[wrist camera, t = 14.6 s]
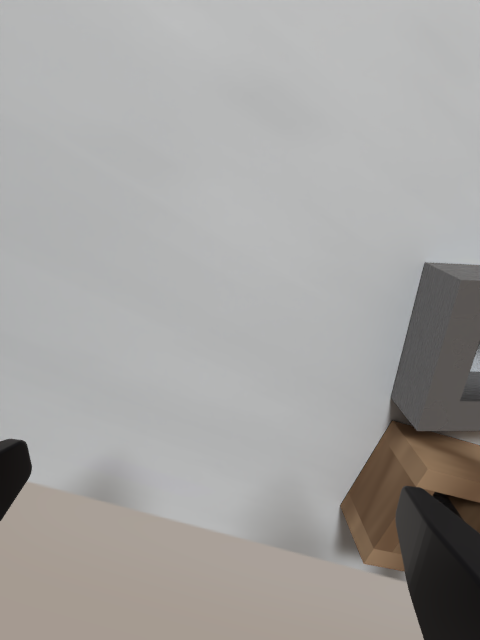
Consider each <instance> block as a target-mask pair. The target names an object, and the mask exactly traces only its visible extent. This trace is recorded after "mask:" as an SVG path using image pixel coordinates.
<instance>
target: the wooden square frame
mask: <svg viewBox="0 0 480 640" xmlns="http://www.w3.org/2000/svg"><path fill="white" fill-rule="evenodd" d="M404 486H412V487H420V488H422V489H424V490H425V491H427V492H428V493H429V494H430V495H433V494H434V492H439V493H443V494H446V495H447V496H448V498H449V499H450V501H451V502H452V504H453V505H454V507H455V508H456V509H457V511H458V512H459V514H460V515H461V517H462V518H463V520H464V521H465V522H466V523H467V524H469V525H470V526H471V527H472V528H474V529H475V530H476V531H477V532H479V533H480V445H476V444H473V443H469V442H466V441H462V440H459V439H455V438H452V437H448V436H445V435H441V434H438V433H435V432H431V431H417V430H416V429H415V428H414V427H413V426H410V425H407V424H403V423H400V422H396V421H393V420H392V422H391V423H390V425H389V427H388V428H387V430H386V431H385V433H384V435H383V436H382V438H381V440H380V441H379V443H378V445H377V446H376V448H375V449H374V451H373V453H372V454H371V456H370V458H369V459H368V461H367V463H366V464H365V466H364V468H363V469H362V471H361V472H360V474H359V476H358V477H357V479H356V481H355V482H354V484H353V486H352V487H351V489H350V490H349V492H348V494H347V495H346V497H345V499H344V500H343V502H342V504H341V505H340V507H341V509H342V512H343V514H344V516H345V519H346V521H347V524H348V526H349V529H350V531H351V534H352V536H353V539H354V541H355V544H356V546H357V548H358V551H359V553H360V556H361V558H362V561H363V563H364V564H368V565H373V566H379V567H384V568H389V569H395V570H400V571H405V569H404V564H403V559H402V554H401V549H400V544H399V539H398V533H397V528H396V519H395V517H396V510H397V506H398V502H399V497H400V493H401V490H402V488H403V487H404Z"/></svg>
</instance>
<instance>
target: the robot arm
mask: <svg viewBox="0 0 480 640" xmlns="http://www.w3.org/2000/svg"><path fill="white" fill-rule="evenodd" d="M31 470H32V465H31V460H30V456H29V451H28V447H27V444H26V442H25V441H23V440H16V439H7V440H4V441H0V521H1V520H2V518H3V517H4V515H5V514H6V512H7V511H8V509H9V507H10V506H11V504H12V503H13V501H14V500H15V498H16V497H17V495H18V493H19V492H20V491H21V489H22V488H23V486H24V485H25V483H26V482H27V480H28V478H29V477H30V474H31ZM395 519H396V528H397V533H398V539H399V544H400V549H401V554H402V559H403V564H404V569H405V574H406V579H407V584H408V588H409V592H410V596H411V599H412V603H413V606H414V609H415V612H416V615H417V618H418V622H419V625H420V628H421V631H422V634H423V638H424V640H480V533H479V532H477V531H476V530H475V529H474V528H472V527H471V526H470V525H469V524H467V523H466V522H465V521H463V520H462V519H461V518H460V517H458V516H457V515H456V514H455V513H453V512H452V511H451V510H450V509H448V508H447V507H446V506H444V505H443V504H442V503H441V502H439V501H438V500H437V499H436V498H434V497H433V496H432V495H430V494H429V493H428V492H427V491H425V490H424V489H422V488H420V487H412V486H404V487H403V488H402V490H401V493H400V497H399V502H398V506H397V510H396V517H395Z"/></svg>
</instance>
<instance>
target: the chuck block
mask: <svg viewBox="0 0 480 640" xmlns="http://www.w3.org/2000/svg"><path fill="white" fill-rule="evenodd" d="M479 342H480V265H464V264H444V263H425V265H424V269H423V273H422V277H421V281H420V285H419V289H418V293H417V297H416V301H415V305H414V309H413V313H412V317H411V321H410V325H409V328H408V332H407V336H406V340H405V344H404V348H403V352H402V356H401V360H400V364H399V368H398V372H397V376H396V380H395V384H394V388H393V392H392V396H391V399H392V400H393V401H394V403H395V404H396V405H397V406H398V408H399V409H400V410H401V411H402V413H403V414H404V415H405V416H406V418H407V419H408V420H409V421H410V423H411V424H412V425H413V427H414V428H415V429H416V430H417V431H480V372H470V369H471V366H472V363H473V360H474V357H475V354H476V351H477V348H478V345H479Z"/></svg>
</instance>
